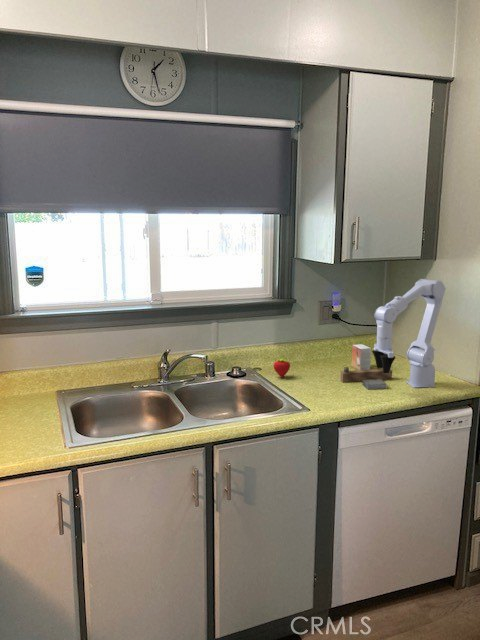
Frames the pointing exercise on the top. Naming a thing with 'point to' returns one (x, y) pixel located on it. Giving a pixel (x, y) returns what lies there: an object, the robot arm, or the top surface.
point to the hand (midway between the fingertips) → (382, 370)
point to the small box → (361, 357)
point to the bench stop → (364, 375)
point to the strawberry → (281, 367)
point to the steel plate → (374, 384)
